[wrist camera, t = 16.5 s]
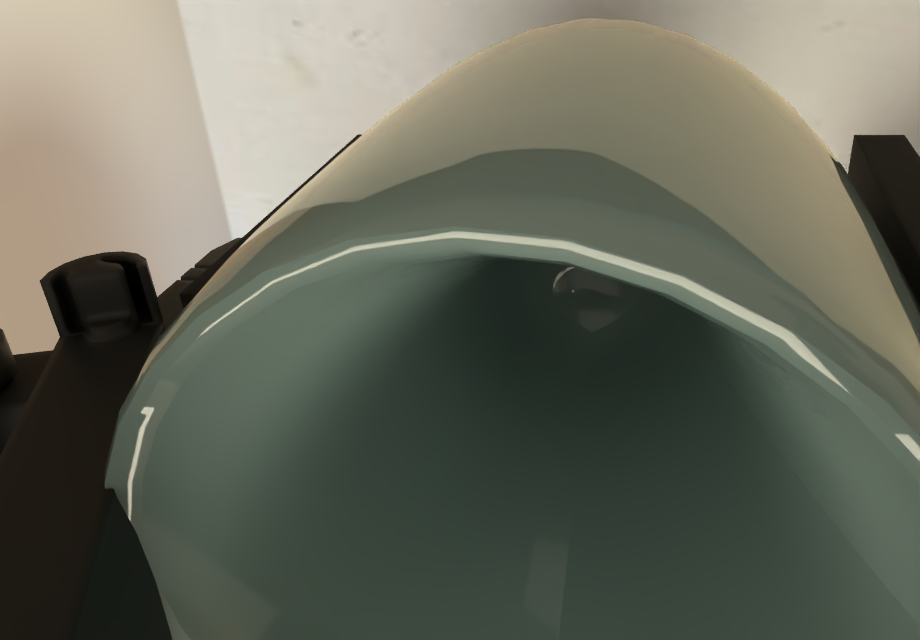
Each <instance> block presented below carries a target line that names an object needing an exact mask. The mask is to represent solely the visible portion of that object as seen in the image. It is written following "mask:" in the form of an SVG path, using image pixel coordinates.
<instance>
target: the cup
mask: <svg viewBox="0 0 920 640" xmlns="http://www.w3.org/2000/svg"><path fill="white" fill-rule="evenodd" d="M111 488H114V491H115V493H116V496H117V498H118V500H119V502H120V504H121V505H122V507H123V509H124V511H125V513H126V515H127V516H128V518H129V520H130V522H131V524H132V525H133V527H134V529H135V531H136V533H137V535H138V538H139V540H140V543H141V545H142V548H143V550H144V553H145V555H146V558H147V560H148V563H149V565H150V568H151V570H152V573H153V575H154V578H155V580H156V584H157V587H158V591H159V594H160V598H161V601H162V605H163V608H164V611H165V615H166V618H167V622H168V625H169V629H170V632H171V636H172V640H920V306H919V304H918V302H917V300H916V298H915V296H914V294H913V292H912V290H911V288H910V286H909V284H908V282H907V280H906V278H905V276H904V274H903V272H902V270H901V269H900V267H899V265H898V263H897V261H896V259H895V258H894V256H893V254H892V252H891V250H890V248H889V247H888V245H887V243H886V241H885V239H884V237H883V236H882V234H881V232H880V230H879V228H878V227H877V225H876V223H875V221H874V219H873V218H872V216H871V214H870V212H869V210H868V208H867V207H866V205H865V203H864V201H863V199H862V198H861V196H860V194H859V192H858V190H857V189H856V187H855V185H854V184H853V182H852V181H851V179H850V177H849V176H848V174H847V173H846V171H845V170H844V168H843V167H842V165H841V164H840V162H839V161H838V160H837V159H836V157H835V156H834V155H833V154H832V152H831V151H830V150H829V149H828V147H827V146H826V145H825V144H824V143H823V141H822V140H821V139H820V138H819V137H818V136H817V134H816V133H815V132H814V131H813V130H812V129H811V127H810V126H809V125H808V124H807V123H806V122H805V121H804V119H803V118H802V117H801V116H800V115H799V114H798V112H797V111H796V110H795V109H794V108H793V107H792V105H791V104H790V103H789V102H788V101H786V100H785V99H784V98H783V97H782V96H780V95H779V94H778V93H777V92H776V91H774V90H773V89H772V88H771V87H769V86H768V85H767V84H766V83H764V82H763V81H762V80H760V79H759V78H758V77H757V76H755V75H754V74H753V73H752V72H750V71H749V70H748V69H747V68H745V67H744V66H743V65H742V64H740V63H739V62H738V61H737V60H735V59H733V58H731V57H729V56H727V55H725V54H723V53H721V52H719V51H718V50H716V49H714V48H712V47H710V46H708V45H706V44H704V43H702V42H700V41H698V40H696V39H695V38H693V37H691V36H689V35H686V34H682V33H679V32H675V31H672V30H668V29H665V28H661V27H658V26H654V25H651V24H647V23H644V22H640V21H635V20H615V19H595V18H583V19H578V20H573V21H568V22H563V23H558V24H553V25H548V26H543V27H538V28H534V29H531V30H527V31H524V32H522V33H520V34H517V35H515V36H513V37H511V38H509V39H506V40H504V41H502V42H500V43H498V44H495V45H493V46H491V47H489V48H487V49H484V50H482V51H480V52H478V53H476V54H474V55H472V56H470V57H468V58H466V59H465V60H463V61H461V62H459V63H457V64H456V65H455V66H453V67H452V68H450V69H449V70H447V71H446V72H445V73H443V74H442V75H440V76H439V77H438V78H436V79H435V80H433V81H432V82H431V83H429V84H428V85H427V86H425V87H424V88H423V89H421V90H420V91H418V92H417V93H416V94H414V95H413V96H412V97H410V98H409V99H407V100H406V101H405V102H403V103H402V104H401V105H399V106H398V107H397V108H395V109H394V110H392V111H391V112H390V113H389V114H387V115H386V116H385V117H384V118H382V119H381V120H380V121H379V122H377V123H376V124H375V125H374V126H372V127H371V128H370V129H369V130H367V131H366V132H365V133H364V134H363V135H362V136H360V137H359V138H358V139H357V140H356V141H355V142H353V143H352V144H351V145H350V146H349V147H348V148H346V149H345V150H344V151H343V152H342V153H341V154H340V155H338V156H337V157H336V158H335V159H334V160H333V161H332V162H331V163H330V164H328V165H327V166H326V167H325V168H324V169H323V170H322V171H321V172H319V173H318V174H317V175H316V176H315V177H314V178H313V179H312V180H311V181H309V182H308V183H307V184H306V185H305V186H304V187H303V188H302V189H301V190H299V191H298V192H297V193H296V194H295V195H294V196H293V197H292V198H291V199H290V200H288V201H287V202H286V203H285V204H284V205H283V206H282V207H281V208H280V209H279V210H278V211H276V212H275V213H274V214H273V215H272V216H271V217H270V218H269V219H268V220H267V221H266V222H265V223H264V224H263V225H261V226H260V227H259V228H258V229H257V230H256V231H255V232H254V233H253V234H252V235H251V236H250V237H249V238H248V239H247V240H246V241H245V242H244V243H243V244H242V245H241V246H240V247H239V248H238V249H237V250H236V251H235V252H234V253H233V254H232V255H231V256H230V257H229V259H228V260H227V261H226V262H225V263H224V264H223V265H222V266H221V268H220V269H219V270H218V271H217V272H216V273H215V274H214V275H213V276H212V278H211V279H210V280H209V281H208V282H207V283H206V284H205V285H204V287H203V288H202V289H201V290H200V291H199V292H198V293H197V294H196V296H195V297H194V298H193V299H192V300H191V301H190V302H189V303H188V304H187V306H186V307H185V308H184V309H183V310H182V311H181V312H180V314H179V315H178V316H177V317H176V318H175V319H174V321H173V322H172V323H171V324H170V325H169V327H168V328H167V329H166V330H165V331H164V332H163V334H162V335H161V336H160V338H159V340H158V341H157V343H156V345H155V347H154V348H153V350H152V352H151V353H150V355H149V357H148V359H147V361H146V362H145V364H144V366H143V368H142V370H141V372H140V374H139V376H138V377H137V379H136V381H135V383H134V385H133V387H132V389H131V391H130V392H129V394H128V396H127V398H126V400H125V402H124V404H123V406H122V407H121V409H120V411H119V414H118V418H117V422H116V426H115V430H114V434H113V439H112V443H111V447H110V451H109V455H108V460H107V464H106V468H105V489H111Z"/></svg>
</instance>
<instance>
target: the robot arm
mask: <svg viewBox="0 0 920 640" xmlns="http://www.w3.org/2000/svg"><path fill="white" fill-rule="evenodd" d="M360 136H362V135H357V136H356V137H355V138H354V139H353V140H351V141H350V142H349V143H348V144H347V145H346V146H345V147H344V148H342V149H341V150H340V151H339V152H338V153H337V154H336V155H335V156H333V157H332V158H331V159H330V160H329V161H328V162H327V163H326V164H324V165H323V166H322V167H321V168H320V169H319V170H318V171H317V172H316V173H314V174H313V175H312V176H311V177H310V178H309V179H308V180H307V181H305V182H304V183H303V184H302V185H301V186H300V187H299V188H298V189H296V190H295V191H294V192H293V193H292V194H291V195H290V196H289V197H287V198H286V199H285V200H284V201H283V202H282V203H281V204H280V205H279V206H277V207H276V208H275V209H274V210H273V211H272V212H271V213H270V214H268V215H267V216H266V217H265V218H264V219H263V220H262V221H261V222H259V223H258V224H257V225H256V226H255V227H254V228H253V229H252V230H250V231H249V232H248V233H247V234H246V235H245V236H244V237H243V238H236V239H234V240H232V241H230V242H229V243H226V244H224V245H222V246H220V247H218V248H216V249H214V250H212V251H210V252H209V253H208V254H207V255H206V256H205V257H203V259H201V260H200V261H199V262H198V263H197V264H195V268H191V269H190V270H188V271H187V272H186V273H185V274H184V275H183V276H181V280H177V281H176V282H175V283H173V284H172V285H171V286H170V287H169V288H167V289H166V290H165V291H164V292H163V293H162V294H161V295H159V296H158V297H157V295H156V292H155V288H154V285H153V281H152V278H151V275H150V271H149V268H148V264H147V261H146V258H144V257H142V256H140V255H139V254H136V253H130V252H107V253H100V254H96V255H90V256H85V257H82V258H79V259H76V260H73V261H70V262H67V263H65V264H63V265H61V266H59V267H57V268H55V269H53V270H52V271H50V272H48V273H47V274H46V275H45V276H44V277H43V278H42V279H41V280H40V283H41V286H42V289H43V291H44V294H45V297H46V299H47V302H48V305H49V308H50V310H51V313H52V316H53V319H54V321H55V324H56V327H57V329H58V332H59V335H60V338H59V340H58V342H57V344H56V346H55V348H54V350H52V351H43V352H35V353H26V354H18V355H13V354H12V352H11V349H10V347H9V344H8V342H7V339H6V337H5V334H4V332H3V330H2V329H0V640H172V636H171V632H170V629H169V625H168V622H167V618H166V615H165V611H164V608H163V605H162V601H161V598H160V594H159V591H158V587H157V584H156V580H155V578H154V575H153V573H152V570H151V568H150V565H149V563H148V560H147V558H146V555H145V553H144V550H143V548H142V545H141V543H140V540H139V538H138V535H137V533H136V531H135V529H134V527H133V525H132V524H131V522H130V520H129V518H128V516H127V515H126V513H125V511H124V509H123V507H122V505H121V504H120V502H119V500H118V498H117V496H116V493H115V491H114V488H111V489H105V468H106V464H107V460H108V455H109V451H110V447H111V443H112V439H113V434H114V430H115V426H116V422H117V418H118V414H119V411H120V409H121V407H122V406H123V404H124V402H125V400H126V398H127V396H128V394H129V392H130V391H131V389H132V387H133V385H134V383H135V381H136V379H137V377H138V376H139V374H140V372H141V370H142V368H143V366H144V364H145V362H146V361H147V359H148V357H149V355H150V353H151V352H152V350H153V348H154V347H155V345H156V343H157V341H158V340H159V338H160V336H161V335H162V334H163V332H164V331H165V330H166V329H167V328H168V327H169V325H170V324H171V323H172V322H173V321H174V319H175V318H176V317H177V316H178V315H179V314H180V312H181V311H182V310H183V309H184V308H185V307H186V306H187V304H188V303H189V302H190V301H191V300H192V299H193V298H194V297H195V296H196V294H197V293H198V292H199V291H200V290H201V289H202V288H203V287H204V285H205V284H206V283H207V282H208V281H209V280H210V279H211V278H212V276H213V275H214V274H215V273H216V272H217V271H218V270H219V269H220V268H221V266H222V265H223V264H224V263H225V262H226V261H227V260H228V259H229V257H230V256H231V255H232V254H233V253H234V252H235V251H236V250H237V249H238V248H239V247H240V246H241V245H242V244H243V243H244V242H245V241H246V240H247V239H248V238H249V237H250V236H251V235H252V234H253V233H254V232H255V231H256V230H257V229H258V228H259V227H260V226H261V225H263V224H264V223H265V222H266V221H267V220H268V219H269V218H270V217H271V216H272V215H273V214H274V213H275V212H276V211H278V210H279V209H280V208H281V207H282V206H283V205H284V204H285V203H286V202H287V201H288V200H290V199H291V198H292V197H293V196H294V195H295V194H296V193H297V192H298V191H299V190H301V189H302V188H303V187H304V186H305V185H306V184H307V183H308V182H309V181H311V180H312V179H313V178H314V177H315V176H316V175H317V174H318V173H319V172H321V171H322V170H323V169H324V168H325V167H326V166H327V165H328V164H330V163H331V162H332V161H333V160H334V159H335V158H336V157H337V156H338V155H340V154H341V153H342V152H343V151H344V150H345V149H346V148H348V147H349V146H350V145H351V144H352V143H353V142H355V141H356V140H357V139H358V138H359V137H360ZM848 176H849V177H850V179H851V181H852V182H853V184H854V185H855V187H856V189H857V190H858V192H859V194H860V196H861V198H862V199H863V201H864V203H865V205H866V207H867V208H868V210H869V212H870V214H871V216H872V218H873V219H874V221H875V223H876V225H877V227H878V228H879V230H880V232H881V234H882V236H883V237H884V239H885V241H886V243H887V245H888V247H889V248H890V250H891V252H892V254H893V256H894V258H895V259H896V261H897V263H898V265H899V267H900V269H901V270H902V272H903V274H904V276H905V278H906V280H907V282H908V284H909V286H910V288H911V290H912V292H913V294H914V296H915V298H916V300H917V302H918V304H919V306H920V157H919V155H918V154H917V153H916V151H915V150H914V148H913V147H912V145H911V144H910V143H909V141H908V140H907V138H906V137H905V135H854V140H853V146H852V152H851V158H850V164H849V170H848Z"/></svg>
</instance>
